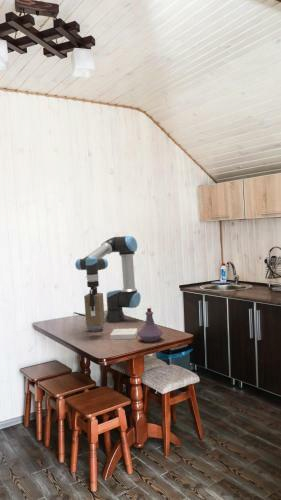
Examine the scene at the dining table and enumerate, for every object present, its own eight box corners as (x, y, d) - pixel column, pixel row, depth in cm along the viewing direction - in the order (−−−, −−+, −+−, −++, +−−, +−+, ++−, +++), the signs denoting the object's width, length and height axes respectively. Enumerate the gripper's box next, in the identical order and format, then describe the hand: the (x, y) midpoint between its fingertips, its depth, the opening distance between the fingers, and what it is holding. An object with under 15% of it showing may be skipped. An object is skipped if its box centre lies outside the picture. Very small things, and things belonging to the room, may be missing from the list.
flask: (169, 339, 272) (167, 307, 271) (150, 345, 261) (149, 312, 260) (150, 335, 284) (148, 305, 283) (132, 341, 273) (130, 309, 272)
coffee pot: (100, 327, 314) (98, 307, 313) (106, 330, 304) (104, 309, 303) (71, 332, 305) (70, 311, 304) (76, 335, 294) (75, 313, 294)
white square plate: (114, 333, 295) (113, 329, 295) (137, 332, 293) (137, 328, 293) (110, 339, 279) (110, 335, 279) (135, 338, 277) (135, 334, 277)
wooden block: (100, 326, 282) (98, 295, 281) (86, 326, 284) (83, 295, 283) (104, 322, 292) (103, 292, 290) (90, 322, 294) (88, 293, 292)
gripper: (90, 278, 298) (92, 310, 299) (83, 283, 275) (85, 318, 276) (101, 278, 297) (103, 310, 298) (95, 282, 274) (97, 317, 276)
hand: (94, 313), depth 287 cm, fingers closed on wooden block, 10 cm apart
